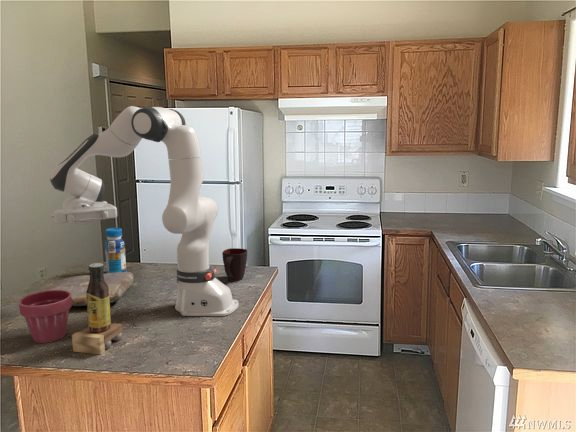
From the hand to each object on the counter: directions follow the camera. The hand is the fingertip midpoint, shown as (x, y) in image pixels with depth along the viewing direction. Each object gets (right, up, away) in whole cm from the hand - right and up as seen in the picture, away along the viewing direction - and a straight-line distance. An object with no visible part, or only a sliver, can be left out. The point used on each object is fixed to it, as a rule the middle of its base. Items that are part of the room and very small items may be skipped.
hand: (90, 217), depth 161 cm
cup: (+43, -27, +43) cm, 66 cm away
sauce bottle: (+10, -33, -17) cm, 38 cm away
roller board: (+9, -38, -17) cm, 42 cm away
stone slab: (-10, -31, +23) cm, 40 cm away
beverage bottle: (-10, -25, +54) cm, 60 cm away
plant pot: (-8, -37, -11) cm, 39 cm away
